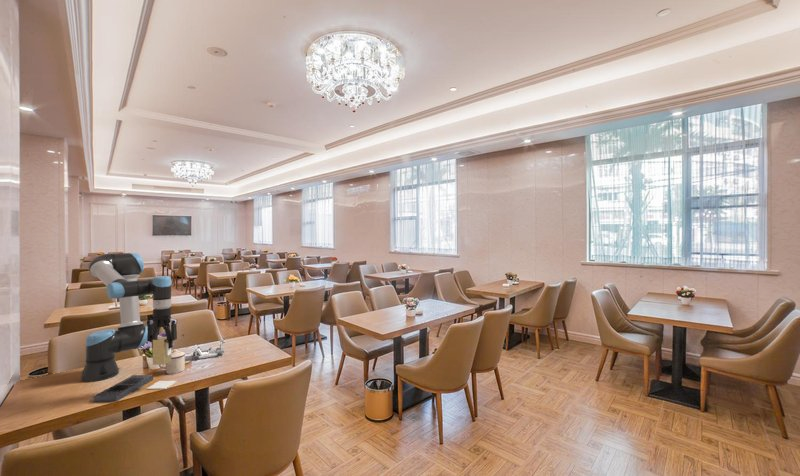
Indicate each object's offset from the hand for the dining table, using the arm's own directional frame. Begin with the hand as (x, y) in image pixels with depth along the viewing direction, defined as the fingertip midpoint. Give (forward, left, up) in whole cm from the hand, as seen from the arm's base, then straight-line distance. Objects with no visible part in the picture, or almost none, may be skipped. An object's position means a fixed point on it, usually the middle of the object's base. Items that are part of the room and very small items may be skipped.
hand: (162, 354), depth 173 cm
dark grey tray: (-14, -5, -15) cm, 21 cm away
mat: (0, 0, -15) cm, 15 cm away
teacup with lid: (-6, +18, -15) cm, 24 cm away
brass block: (0, 0, -4) cm, 4 cm away
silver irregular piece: (+1, +44, -16) cm, 47 cm away
